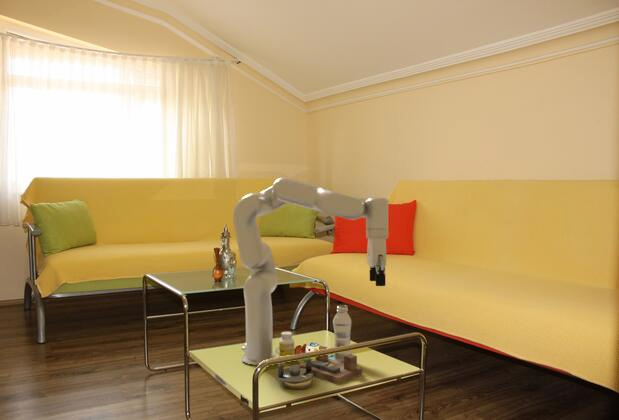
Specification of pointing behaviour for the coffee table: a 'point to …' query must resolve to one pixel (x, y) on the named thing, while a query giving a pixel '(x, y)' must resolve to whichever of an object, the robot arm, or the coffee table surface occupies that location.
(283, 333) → the supplement bottle
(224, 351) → the coffee table surface
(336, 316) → the plastic bottle
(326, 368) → the stand
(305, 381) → the capstan
